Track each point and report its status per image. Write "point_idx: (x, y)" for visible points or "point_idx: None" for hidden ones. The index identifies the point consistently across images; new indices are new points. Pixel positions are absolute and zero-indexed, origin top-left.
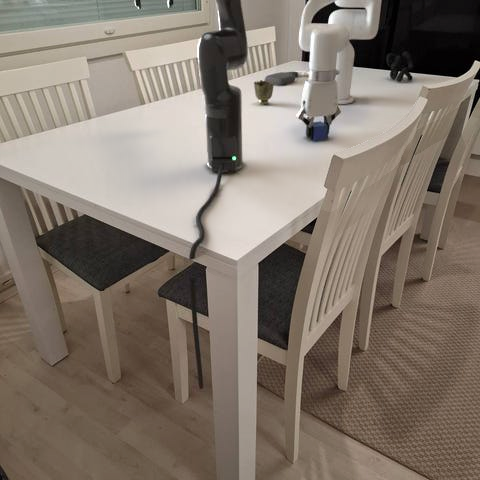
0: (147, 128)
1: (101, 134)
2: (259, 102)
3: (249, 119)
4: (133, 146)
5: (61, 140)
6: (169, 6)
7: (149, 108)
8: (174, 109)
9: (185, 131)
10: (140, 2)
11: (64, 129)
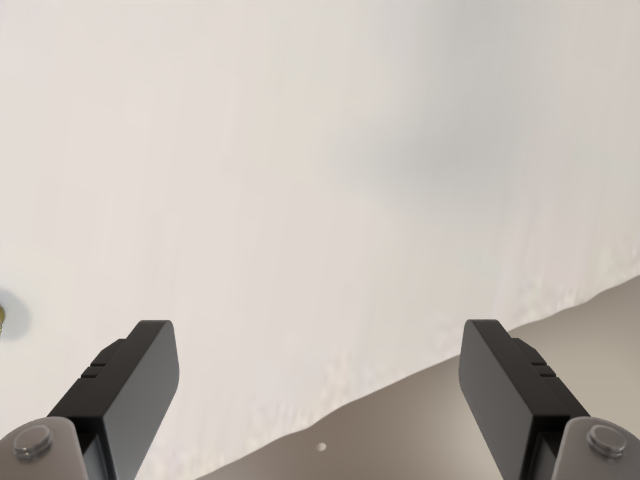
0: (370, 208)
1: (502, 202)
2: (3, 312)
3: (57, 182)
4: (440, 58)
5: (613, 190)
6: (163, 321)
7: (331, 381)
8: (265, 350)
9: (268, 140)
10: (492, 348)
11: (583, 281)
